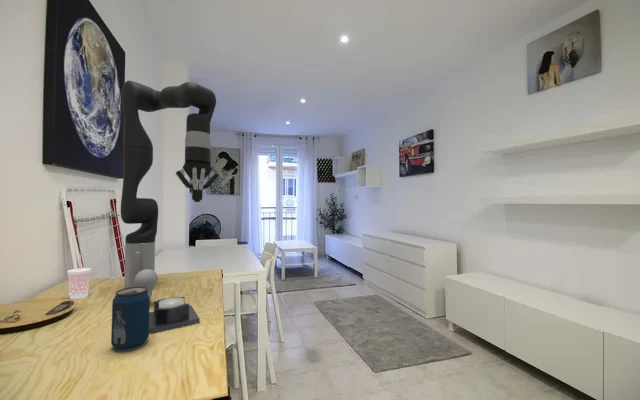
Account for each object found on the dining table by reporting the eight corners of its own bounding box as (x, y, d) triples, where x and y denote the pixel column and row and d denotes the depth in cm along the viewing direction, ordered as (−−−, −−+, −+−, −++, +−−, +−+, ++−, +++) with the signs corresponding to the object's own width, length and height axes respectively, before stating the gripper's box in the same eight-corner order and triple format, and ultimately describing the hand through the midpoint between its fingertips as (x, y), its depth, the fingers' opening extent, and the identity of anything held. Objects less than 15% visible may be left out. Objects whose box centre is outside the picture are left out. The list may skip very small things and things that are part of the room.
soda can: (149, 335, 67) (151, 284, 68) (147, 348, 61) (148, 292, 61) (114, 341, 64) (115, 287, 64) (107, 355, 58) (109, 296, 58)
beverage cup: (94, 295, 96) (95, 254, 96) (72, 301, 90) (73, 256, 91) (85, 293, 99) (86, 252, 99) (63, 298, 93) (64, 255, 93)
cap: (158, 314, 77) (158, 299, 77) (182, 310, 80) (183, 296, 80) (159, 322, 72) (159, 306, 72) (185, 317, 75) (185, 302, 75)
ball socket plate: (143, 317, 78) (144, 300, 78) (191, 309, 84) (191, 293, 84) (146, 334, 68) (146, 314, 68) (199, 323, 74) (199, 305, 74)
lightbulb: (146, 309, 84) (147, 272, 84) (128, 307, 85) (129, 271, 85) (161, 302, 90) (162, 267, 90) (145, 301, 91) (146, 266, 91)
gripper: (216, 151, 97) (215, 202, 97) (173, 147, 90) (172, 201, 90) (222, 148, 91) (221, 202, 91) (176, 142, 84) (175, 201, 83)
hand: (196, 201), depth 90 cm, fingers closed
